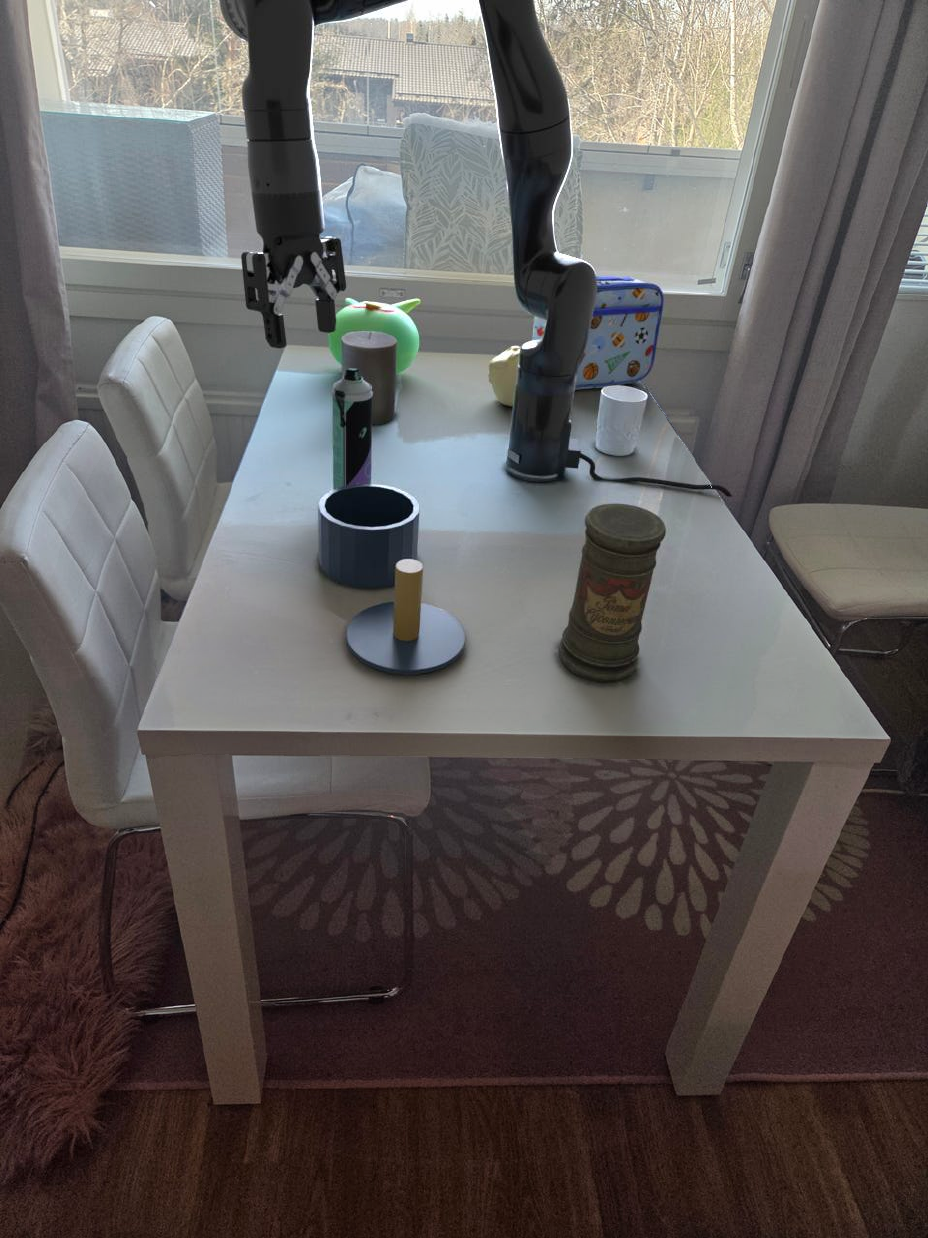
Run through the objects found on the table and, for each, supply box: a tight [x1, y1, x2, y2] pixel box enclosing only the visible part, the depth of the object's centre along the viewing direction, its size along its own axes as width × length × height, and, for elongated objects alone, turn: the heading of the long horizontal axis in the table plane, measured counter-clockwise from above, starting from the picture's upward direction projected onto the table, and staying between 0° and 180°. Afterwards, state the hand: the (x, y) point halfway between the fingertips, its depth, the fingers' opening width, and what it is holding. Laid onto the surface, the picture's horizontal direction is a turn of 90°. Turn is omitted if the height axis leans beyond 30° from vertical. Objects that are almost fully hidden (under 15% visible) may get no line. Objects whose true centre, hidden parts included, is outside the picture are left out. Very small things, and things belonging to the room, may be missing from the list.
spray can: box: [331, 367, 373, 490], centre depth 121 cm, size 6×6×20 cm
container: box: [558, 502, 667, 683], centre depth 94 cm, size 9×9×18 cm
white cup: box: [595, 385, 649, 457], centre depth 149 cm, size 8×8×10 cm
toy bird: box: [327, 297, 421, 375], centre depth 170 cm, size 18×17×15 cm
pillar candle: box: [341, 331, 397, 425], centre depth 151 cm, size 10×10×15 cm
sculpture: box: [487, 345, 521, 407], centre depth 164 cm, size 12×12×11 cm
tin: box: [317, 483, 421, 590], centre depth 110 cm, size 13×13×8 cm
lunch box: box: [531, 275, 665, 391], centre depth 173 cm, size 28×10×22 cm, turn 115°
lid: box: [345, 559, 466, 675], centre depth 96 cm, size 14×14×10 cm
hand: (303, 339), depth 102 cm, fingers open, 8 cm apart
